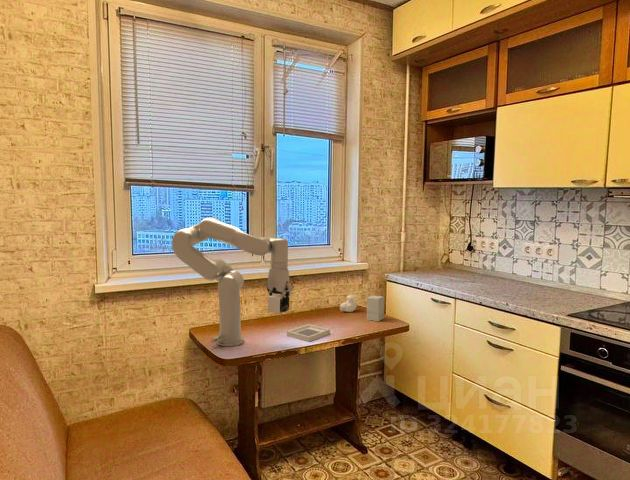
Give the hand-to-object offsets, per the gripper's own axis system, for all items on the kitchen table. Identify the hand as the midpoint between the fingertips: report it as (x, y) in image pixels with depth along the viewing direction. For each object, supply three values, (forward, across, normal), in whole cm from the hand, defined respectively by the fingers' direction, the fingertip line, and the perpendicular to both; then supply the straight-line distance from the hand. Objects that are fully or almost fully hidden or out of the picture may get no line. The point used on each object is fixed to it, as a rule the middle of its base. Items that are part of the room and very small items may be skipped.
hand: (278, 303), depth 197 cm
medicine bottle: (+4, 0, 0) cm, 4 cm away
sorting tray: (+18, +3, +18) cm, 26 cm away
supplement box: (+17, +13, +64) cm, 67 cm away
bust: (+18, -8, +68) cm, 71 cm away
